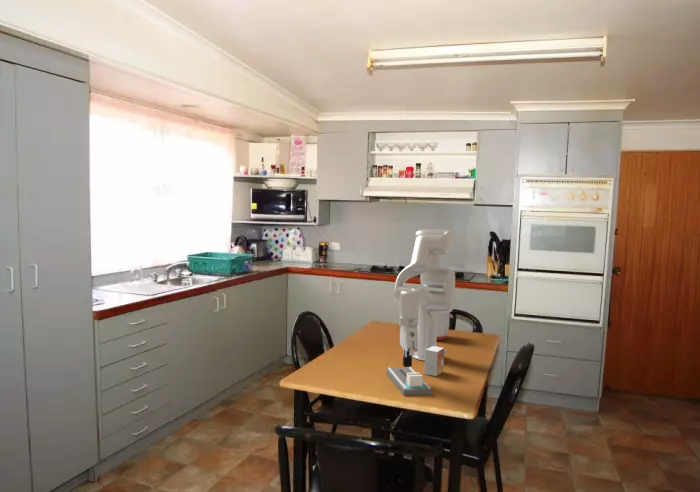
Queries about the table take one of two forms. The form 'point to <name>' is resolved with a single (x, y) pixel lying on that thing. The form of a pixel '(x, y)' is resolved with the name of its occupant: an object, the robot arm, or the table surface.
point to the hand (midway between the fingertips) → (407, 366)
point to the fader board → (400, 381)
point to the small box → (434, 360)
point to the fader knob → (414, 379)
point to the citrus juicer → (442, 324)
